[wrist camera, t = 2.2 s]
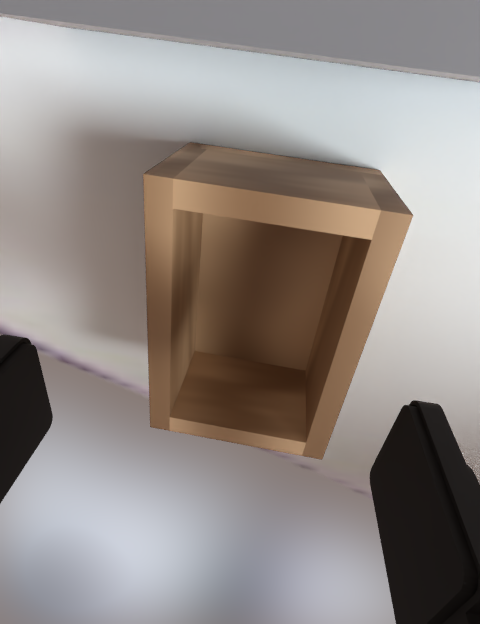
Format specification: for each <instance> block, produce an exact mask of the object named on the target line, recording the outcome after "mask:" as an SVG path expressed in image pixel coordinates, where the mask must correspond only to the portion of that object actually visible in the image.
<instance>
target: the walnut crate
mask: <svg viewBox="0 0 480 624" xmlns="http://www.w3.org/2000/svg"><path fill="white" fill-rule="evenodd" d="M143 183H144V219H145V255H146V292H147V328H148V364H149V400H150V427H153V428H159V429H164V430H169V431H174V432H179V433H185V434H190V435H195V436H201V437H206V438H211V439H216V440H222V441H227V442H232V443H237V444H243V445H248V446H253V447H258V448H264V449H269V450H274V451H280V452H285V453H290V454H295V455H301V456H306V457H311V458H316V459H322V458H323V456H324V453H325V450H326V448H327V445H328V442H329V440H330V437H331V434H332V432H333V429H334V426H335V424H336V421H337V418H338V416H339V413H340V410H341V407H342V405H343V402H344V399H345V397H346V394H347V391H348V389H349V386H350V383H351V381H352V378H353V375H354V373H355V370H356V367H357V365H358V362H359V359H360V357H361V354H362V351H363V348H364V346H365V343H366V340H367V338H368V335H369V332H370V330H371V327H372V324H373V322H374V319H375V316H376V314H377V311H378V308H379V306H380V303H381V300H382V297H383V295H384V292H385V289H386V287H387V284H388V281H389V279H390V276H391V273H392V271H393V268H394V265H395V263H396V260H397V257H398V255H399V252H400V249H401V247H402V244H403V241H404V238H405V236H406V233H407V230H408V228H409V225H410V222H411V220H412V217H413V214H412V213H411V212H410V210H409V209H408V208H407V206H406V205H405V204H404V202H403V201H402V200H401V198H400V197H399V196H398V194H397V193H396V191H395V190H394V189H393V187H392V186H391V185H390V183H389V182H388V181H387V179H386V178H385V177H384V175H383V174H382V172H381V171H380V170H375V169H368V168H361V167H354V166H348V165H341V164H334V163H327V162H320V161H314V160H307V159H300V158H293V157H287V156H280V155H273V154H266V153H259V152H253V151H246V150H239V149H232V148H225V147H219V146H212V145H205V144H198V143H192V142H190V143H188V144H187V145H186V146H184V147H183V148H181V149H180V150H178V151H177V152H175V153H174V154H172V155H171V156H169V157H168V158H166V159H165V160H163V161H162V162H160V163H159V164H157V165H156V166H154V167H153V168H151V169H150V170H148V171H147V172H146V173H144V174H143Z"/></svg>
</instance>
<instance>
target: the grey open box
mask: <svg viewBox="0 0 480 624" xmlns="http://www.w3.org/2000/svg"><path fill="white" fill-rule="evenodd" d="M0 16H1V17H7V18H13V19H19V20H25V21H31V22H37V23H43V24H49V25H55V26H62V27H69V28H77V29H84V30H92V31H99V32H107V33H114V34H122V35H129V36H137V37H144V38H152V39H159V40H167V41H174V42H182V43H189V44H197V45H204V46H212V47H219V48H227V49H234V50H242V51H249V52H257V53H264V54H272V55H279V56H287V57H294V58H302V59H310V60H317V61H325V62H332V63H340V64H347V65H355V66H362V67H370V68H377V69H385V70H392V71H400V72H407V73H415V74H422V75H430V76H437V77H445V78H452V79H460V80H467V81H475V82H480V0H0Z"/></svg>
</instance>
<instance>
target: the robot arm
mask: <svg viewBox="0 0 480 624" xmlns="http://www.w3.org/2000/svg"><path fill="white" fill-rule="evenodd" d="M51 423H52V411H51V407H50V403H49V399H48V395H47V390H46V386H45V382H44V378H43V375H42V370H41V366H40V362H39V357H38V353H37V349H36V347H35V346H34V345H31V342H30V340H29V339H28V338H23V337H17V336H10V335H1V336H0V503H1V501H2V499H3V498H4V497H5V495H6V494H7V492H8V491H9V489H10V488H11V486H12V485H13V483H14V482H15V480H16V479H17V477H18V476H19V474H20V473H21V471H22V469H23V468H24V466H25V464H26V463H27V462H28V460H29V459H30V457H31V456H32V454H33V453H34V451H35V450H36V448H37V447H38V445H39V443H40V442H41V441H42V439H43V437H44V436H45V434H46V433H47V431H48V430H49V428H50V426H51ZM370 485H371V491H372V496H373V501H374V506H375V512H376V517H377V523H378V528H379V534H380V539H381V544H382V550H383V555H384V560H385V565H386V571H387V577H388V582H389V587H390V593H391V598H392V604H393V608H394V614H395V620H396V624H480V484H479V482H478V480H477V478H476V476H475V474H474V472H473V470H472V469H471V468H470V467H469V466H468V465H466V463H465V460H464V458H463V456H462V453H461V451H460V449H459V446H458V444H457V442H456V439H455V437H454V435H453V433H452V430H451V428H450V426H449V423H448V421H447V419H446V416H445V414H444V412H443V409H442V408H441V406H440V405H438V404H434V403H427V402H421V401H412V402H411V403H410V405H404V406H403V407H402V409H401V411H400V413H399V415H398V417H397V419H396V421H395V423H394V425H393V427H392V429H391V431H390V433H389V435H388V436H387V438H386V440H385V442H384V444H383V446H382V448H381V450H380V452H379V454H378V456H377V458H376V460H375V462H374V464H373V466H372V468H371V472H370Z"/></svg>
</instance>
